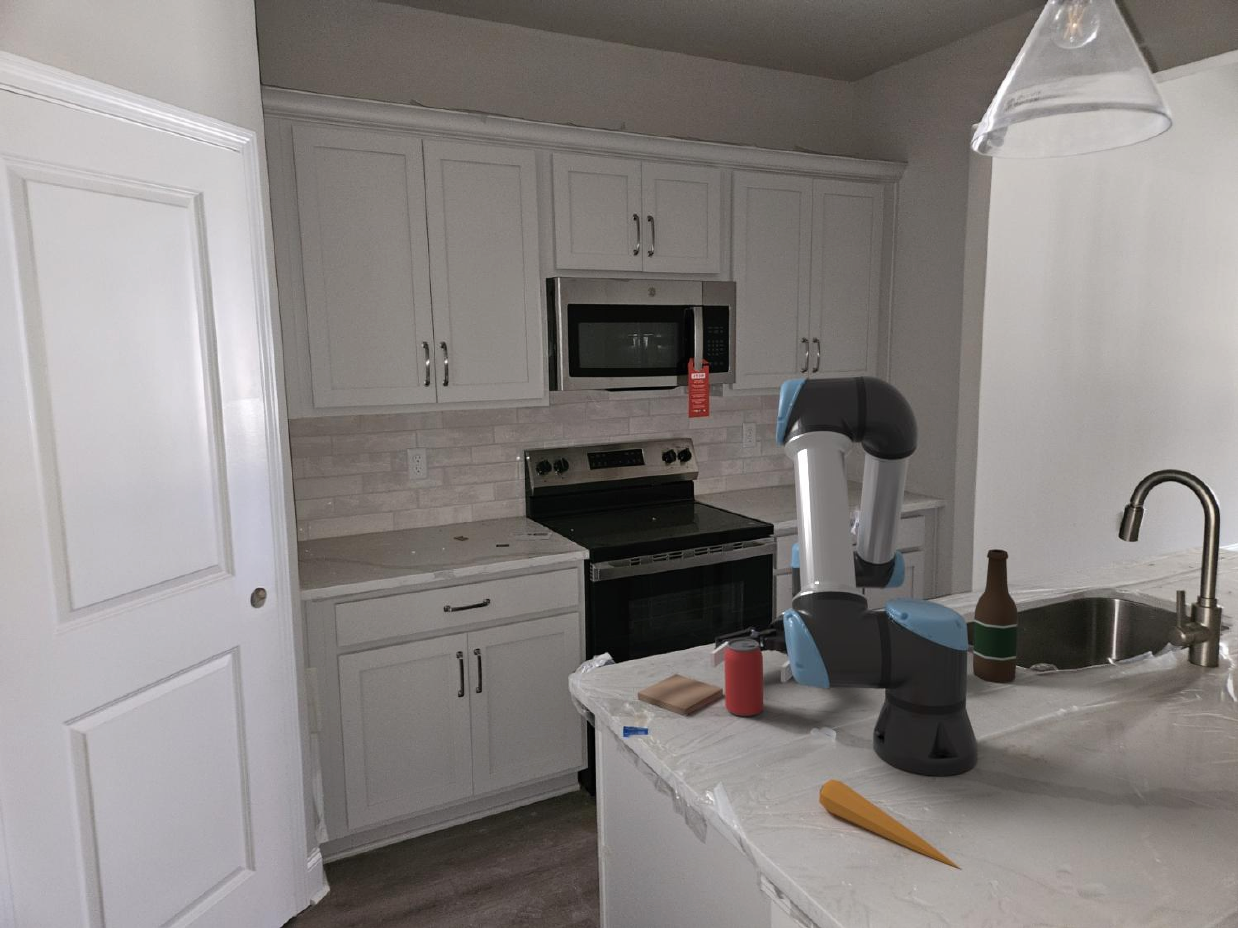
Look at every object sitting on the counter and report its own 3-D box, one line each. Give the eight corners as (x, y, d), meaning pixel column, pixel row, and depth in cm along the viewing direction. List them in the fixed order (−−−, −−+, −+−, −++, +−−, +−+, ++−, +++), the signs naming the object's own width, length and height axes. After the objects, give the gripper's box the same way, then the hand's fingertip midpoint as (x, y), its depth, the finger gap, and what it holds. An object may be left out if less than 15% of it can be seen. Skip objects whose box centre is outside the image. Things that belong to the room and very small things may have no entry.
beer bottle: (984, 664, 159) (987, 543, 156) (1024, 675, 153) (1028, 550, 150) (964, 675, 155) (966, 551, 151) (1005, 687, 149) (1008, 558, 145)
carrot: (816, 812, 113) (811, 790, 111) (835, 789, 115) (830, 767, 113) (954, 895, 98) (951, 871, 96) (973, 867, 101) (970, 843, 99)
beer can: (762, 718, 140) (762, 651, 138) (724, 716, 141) (722, 650, 140) (764, 702, 146) (763, 637, 145) (726, 700, 148) (725, 636, 146)
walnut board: (722, 694, 150) (722, 688, 150) (685, 715, 142) (684, 709, 142) (676, 679, 158) (676, 673, 157) (638, 698, 150) (637, 692, 150)
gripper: (854, 659, 156) (814, 701, 139) (735, 638, 170) (685, 674, 152) (854, 621, 155) (814, 659, 138) (734, 603, 169) (684, 635, 151)
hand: (746, 667), depth 145 cm, fingers open, 13 cm apart
